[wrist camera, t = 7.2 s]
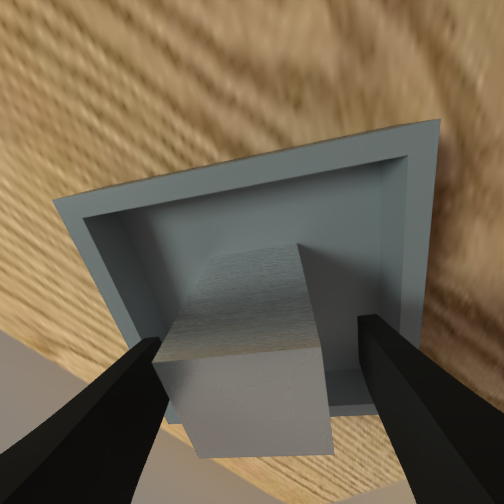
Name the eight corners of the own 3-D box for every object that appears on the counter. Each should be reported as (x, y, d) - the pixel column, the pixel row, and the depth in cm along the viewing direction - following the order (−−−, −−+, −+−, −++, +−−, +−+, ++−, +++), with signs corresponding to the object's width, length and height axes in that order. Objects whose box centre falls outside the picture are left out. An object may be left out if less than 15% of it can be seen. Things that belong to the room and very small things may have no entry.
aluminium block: (307, 315, 12) (334, 454, 7) (230, 324, 13) (198, 458, 7) (296, 242, 11) (321, 347, 5) (210, 256, 11) (151, 362, 6)
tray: (390, 368, 14) (413, 412, 12) (183, 383, 16) (168, 424, 14) (398, 124, 9) (440, 118, 7) (97, 188, 11) (52, 200, 9)
